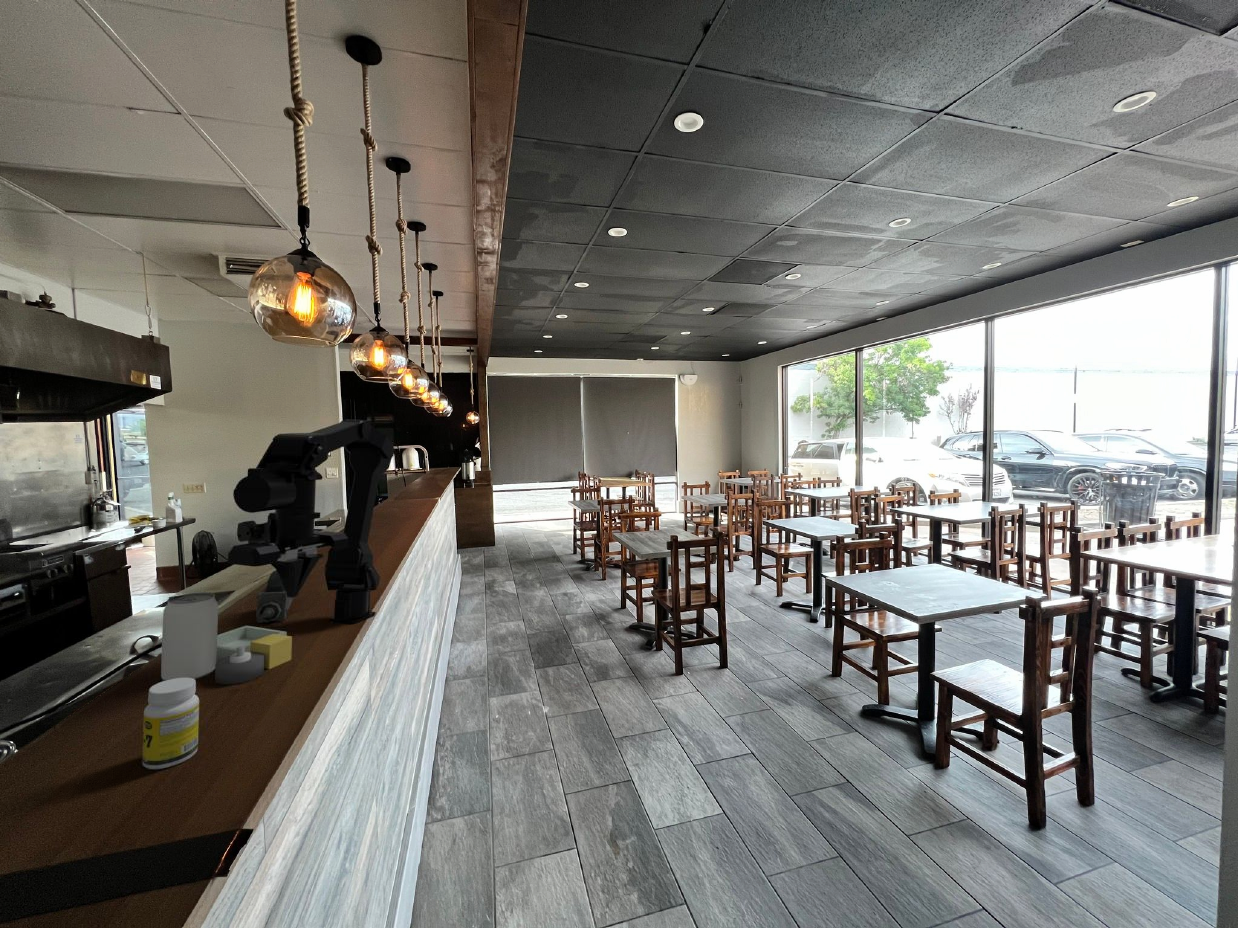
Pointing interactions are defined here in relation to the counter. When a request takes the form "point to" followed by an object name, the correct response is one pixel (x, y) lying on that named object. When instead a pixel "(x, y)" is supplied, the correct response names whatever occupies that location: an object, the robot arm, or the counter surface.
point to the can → (189, 636)
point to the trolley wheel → (239, 667)
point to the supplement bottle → (170, 723)
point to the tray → (241, 639)
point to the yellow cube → (273, 649)
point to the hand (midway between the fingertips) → (292, 596)
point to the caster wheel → (273, 601)
